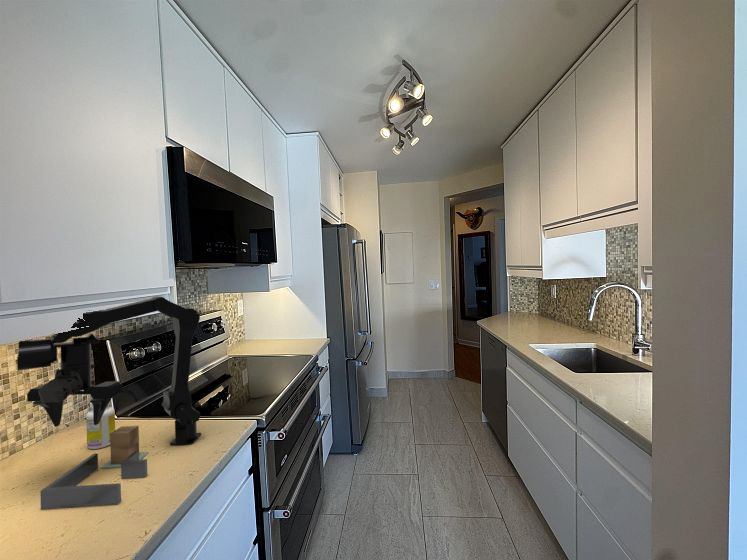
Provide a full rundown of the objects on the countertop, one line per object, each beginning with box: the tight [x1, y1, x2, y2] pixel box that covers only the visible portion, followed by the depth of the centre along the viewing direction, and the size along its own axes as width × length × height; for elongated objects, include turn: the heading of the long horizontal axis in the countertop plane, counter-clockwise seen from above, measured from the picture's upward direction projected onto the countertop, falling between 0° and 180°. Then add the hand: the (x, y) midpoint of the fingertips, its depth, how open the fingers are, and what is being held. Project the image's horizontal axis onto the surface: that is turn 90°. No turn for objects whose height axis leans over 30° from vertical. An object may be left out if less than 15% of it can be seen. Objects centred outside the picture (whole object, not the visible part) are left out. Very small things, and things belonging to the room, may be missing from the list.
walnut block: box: [109, 425, 140, 464], centre depth 93 cm, size 4×4×8 cm
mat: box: [100, 451, 149, 470], centre depth 93 cm, size 7×8×1 cm
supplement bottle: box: [85, 401, 116, 450], centre depth 102 cm, size 7×7×13 cm
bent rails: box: [39, 450, 148, 511], centre depth 82 cm, size 16×16×4 cm
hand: (76, 425), depth 86 cm, fingers open, 9 cm apart
